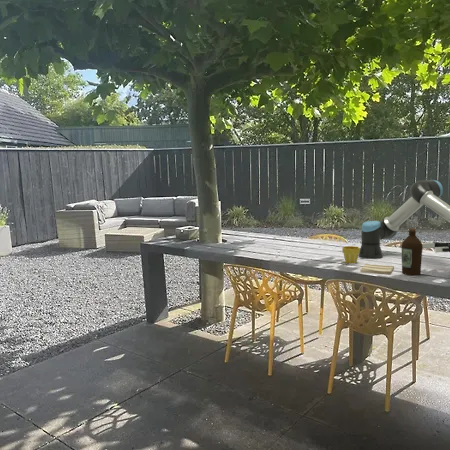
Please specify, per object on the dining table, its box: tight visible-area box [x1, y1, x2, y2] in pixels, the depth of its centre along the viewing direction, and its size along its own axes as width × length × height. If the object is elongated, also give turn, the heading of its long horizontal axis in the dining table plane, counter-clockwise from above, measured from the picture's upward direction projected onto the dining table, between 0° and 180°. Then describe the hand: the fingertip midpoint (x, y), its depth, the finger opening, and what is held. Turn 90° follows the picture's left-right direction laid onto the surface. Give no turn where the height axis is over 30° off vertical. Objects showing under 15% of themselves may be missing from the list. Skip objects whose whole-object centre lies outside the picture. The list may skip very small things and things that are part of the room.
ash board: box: [360, 263, 395, 276], centre depth 246 cm, size 16×16×2 cm
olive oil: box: [400, 228, 424, 277], centre depth 234 cm, size 11×11×25 cm
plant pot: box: [341, 245, 361, 264], centre depth 268 cm, size 10×10×10 cm
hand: (429, 247), depth 235 cm, fingers open, 13 cm apart
